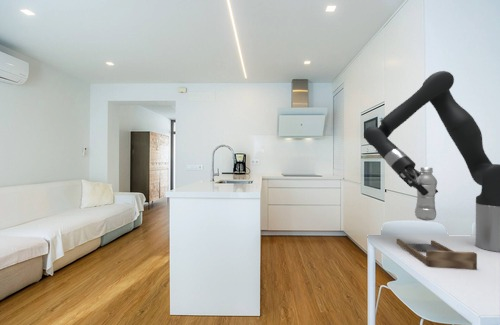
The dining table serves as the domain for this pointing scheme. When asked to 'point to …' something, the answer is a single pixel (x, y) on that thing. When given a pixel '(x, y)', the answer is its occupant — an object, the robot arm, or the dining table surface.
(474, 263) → the wooden tray frame
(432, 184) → the plastic bottle
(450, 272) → the dining table surface
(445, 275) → the dining table surface
